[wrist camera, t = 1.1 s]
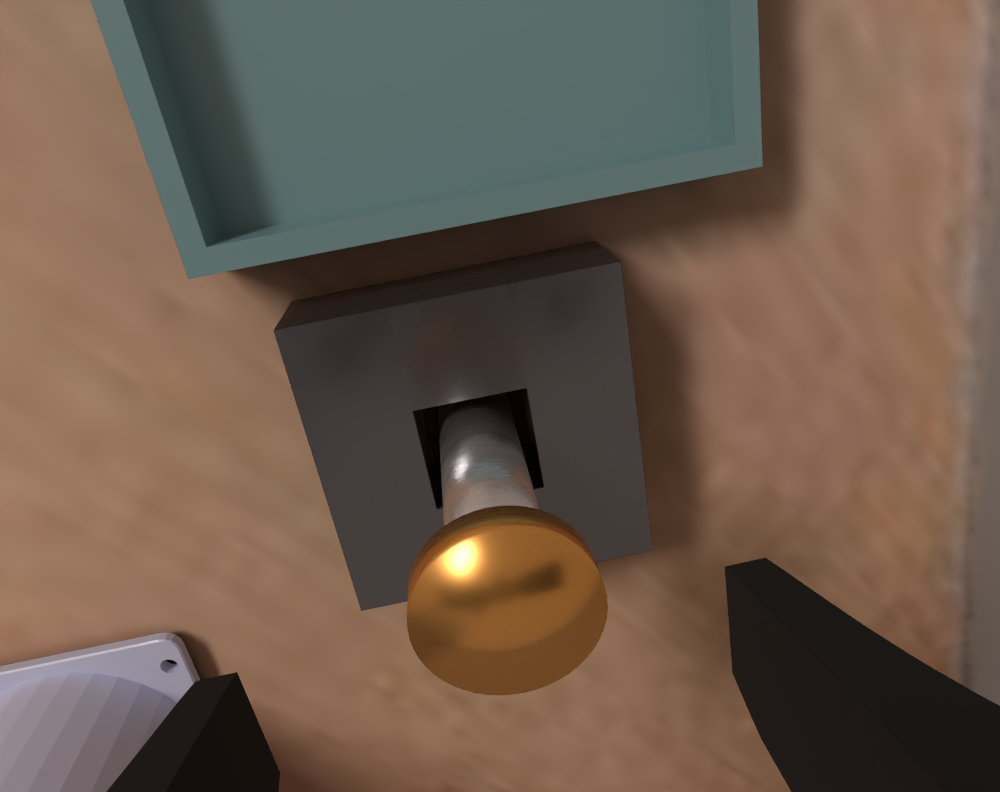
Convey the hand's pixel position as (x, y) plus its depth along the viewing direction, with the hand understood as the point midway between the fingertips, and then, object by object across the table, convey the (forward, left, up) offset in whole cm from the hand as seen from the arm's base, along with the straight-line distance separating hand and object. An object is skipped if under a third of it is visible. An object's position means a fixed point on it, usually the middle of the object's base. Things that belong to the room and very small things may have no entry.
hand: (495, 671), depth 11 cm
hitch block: (0, 0, -10) cm, 10 cm away
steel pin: (0, 0, -10) cm, 10 cm away
